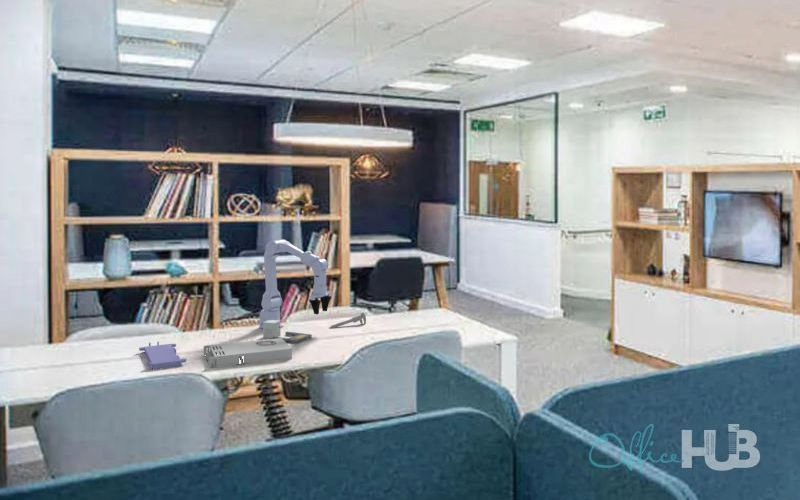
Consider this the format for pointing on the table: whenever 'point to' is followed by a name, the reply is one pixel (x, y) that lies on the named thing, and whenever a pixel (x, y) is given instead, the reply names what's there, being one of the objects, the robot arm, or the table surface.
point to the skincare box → (271, 328)
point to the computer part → (162, 356)
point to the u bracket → (295, 337)
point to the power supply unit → (248, 352)
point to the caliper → (351, 320)
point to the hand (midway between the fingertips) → (320, 312)
